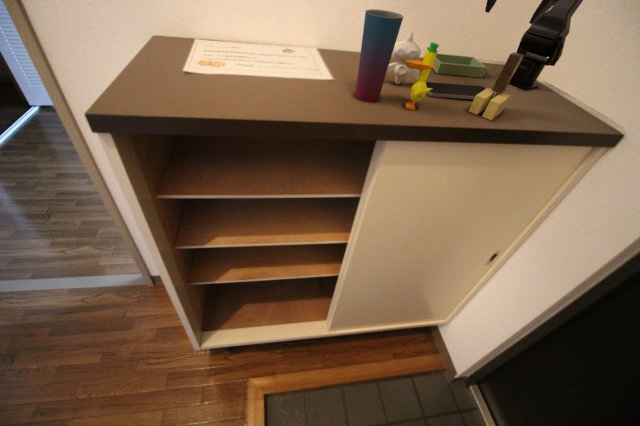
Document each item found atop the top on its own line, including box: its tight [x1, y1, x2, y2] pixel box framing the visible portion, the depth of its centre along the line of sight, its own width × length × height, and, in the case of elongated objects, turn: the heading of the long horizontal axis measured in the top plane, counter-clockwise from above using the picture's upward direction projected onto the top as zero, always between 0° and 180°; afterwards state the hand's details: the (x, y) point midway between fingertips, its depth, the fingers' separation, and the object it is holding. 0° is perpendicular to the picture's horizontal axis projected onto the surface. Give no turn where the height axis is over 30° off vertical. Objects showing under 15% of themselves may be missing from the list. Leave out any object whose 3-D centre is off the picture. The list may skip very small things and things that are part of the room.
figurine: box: [386, 31, 422, 85], centre depth 65 cm, size 12×5×11 cm, turn 83°
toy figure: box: [404, 41, 440, 110], centre depth 55 cm, size 7×4×12 cm, turn 83°
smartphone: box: [425, 81, 487, 101], centre depth 67 cm, size 7×1×15 cm
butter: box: [468, 87, 512, 121], centre depth 60 cm, size 7×5×4 cm
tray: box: [433, 53, 488, 79], centre depth 80 cm, size 13×9×3 cm
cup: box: [355, 8, 404, 103], centre depth 56 cm, size 7×7×15 cm
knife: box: [491, 51, 524, 100], centre depth 59 cm, size 3×2×11 cm, turn 137°
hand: (507, 17), depth 55 cm, fingers open, 9 cm apart
